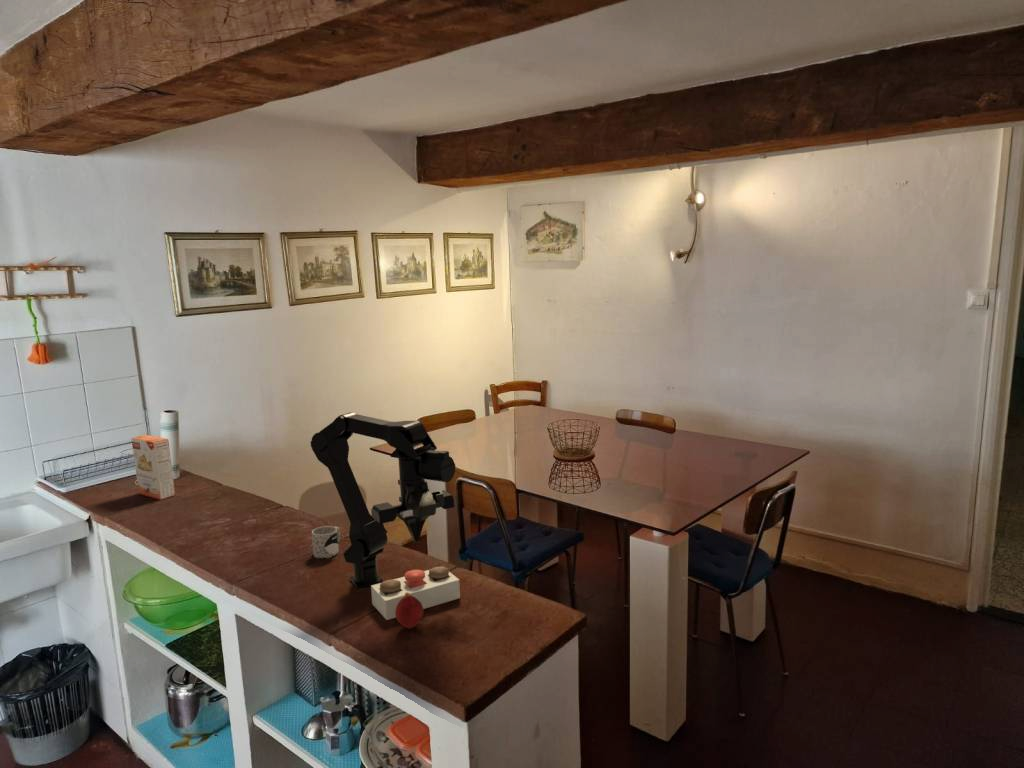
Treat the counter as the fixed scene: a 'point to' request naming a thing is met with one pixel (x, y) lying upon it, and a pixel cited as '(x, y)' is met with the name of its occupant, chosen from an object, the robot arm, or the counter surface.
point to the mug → (325, 541)
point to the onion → (409, 611)
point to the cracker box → (153, 466)
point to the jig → (417, 594)
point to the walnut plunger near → (390, 586)
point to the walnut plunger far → (438, 573)
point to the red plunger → (414, 577)
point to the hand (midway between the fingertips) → (416, 541)
